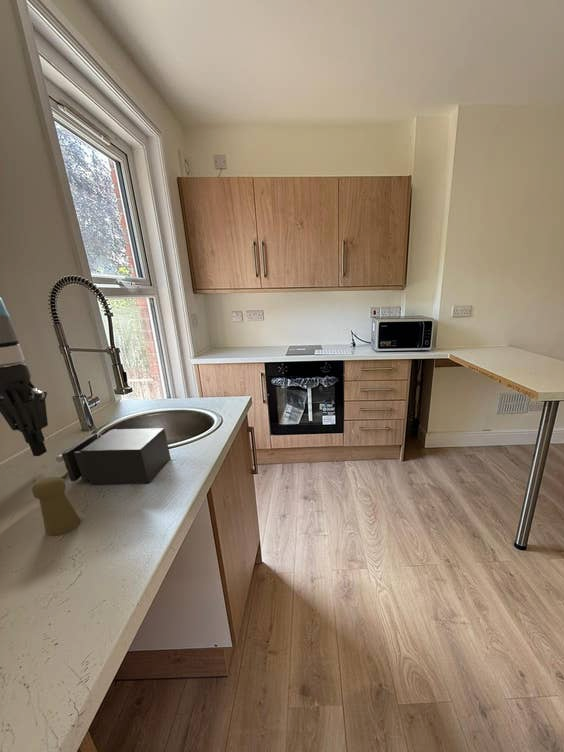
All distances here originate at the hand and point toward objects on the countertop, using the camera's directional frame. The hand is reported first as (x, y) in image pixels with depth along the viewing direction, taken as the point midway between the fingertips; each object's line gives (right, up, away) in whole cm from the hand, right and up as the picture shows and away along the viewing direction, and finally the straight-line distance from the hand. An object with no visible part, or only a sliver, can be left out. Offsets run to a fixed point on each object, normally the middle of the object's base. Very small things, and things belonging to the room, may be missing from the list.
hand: (40, 453), depth 91 cm
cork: (+21, -14, -19) cm, 31 cm away
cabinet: (+23, -5, +2) cm, 24 cm away
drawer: (+16, -4, +2) cm, 16 cm away
